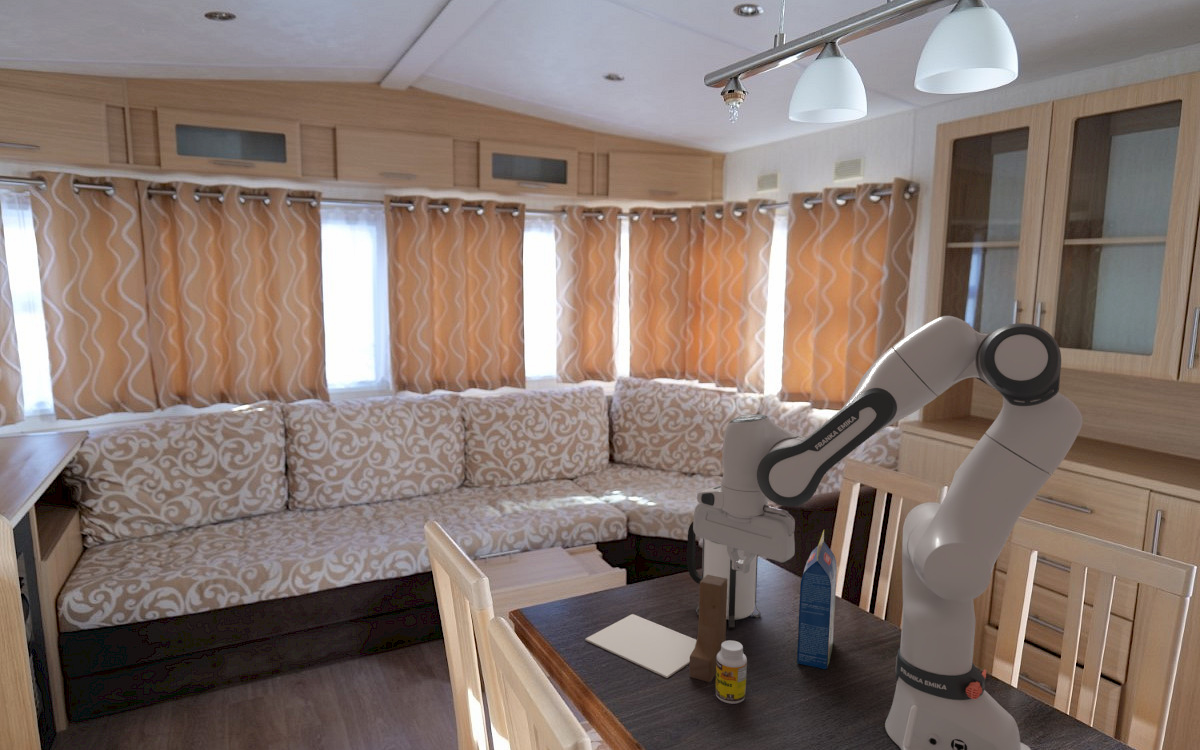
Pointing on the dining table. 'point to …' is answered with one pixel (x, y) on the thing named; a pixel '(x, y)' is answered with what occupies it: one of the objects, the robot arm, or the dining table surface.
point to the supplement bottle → (731, 672)
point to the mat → (646, 644)
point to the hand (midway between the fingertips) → (740, 570)
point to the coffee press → (720, 565)
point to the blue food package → (817, 608)
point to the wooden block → (709, 627)
